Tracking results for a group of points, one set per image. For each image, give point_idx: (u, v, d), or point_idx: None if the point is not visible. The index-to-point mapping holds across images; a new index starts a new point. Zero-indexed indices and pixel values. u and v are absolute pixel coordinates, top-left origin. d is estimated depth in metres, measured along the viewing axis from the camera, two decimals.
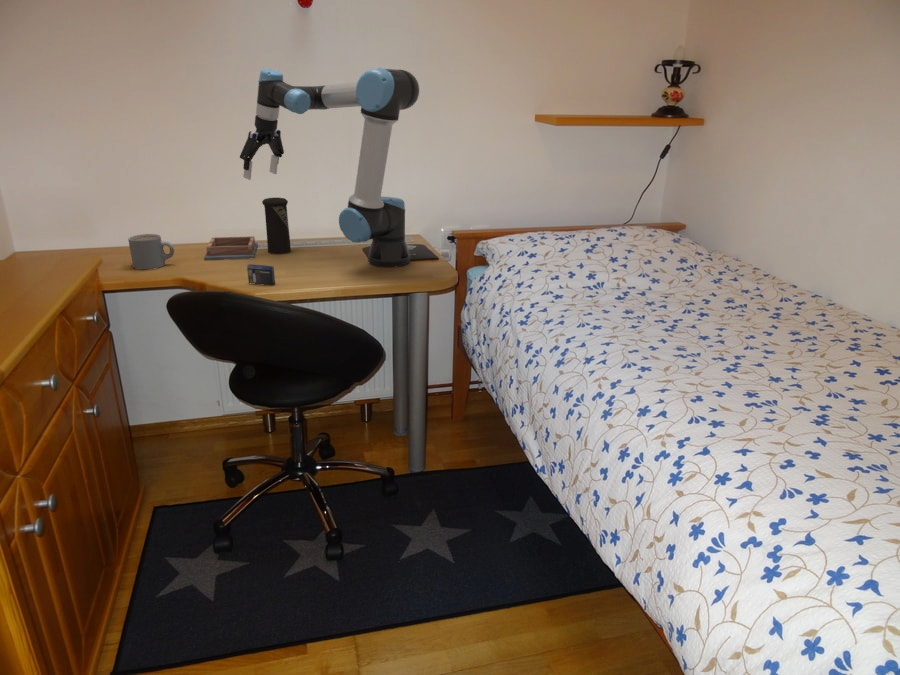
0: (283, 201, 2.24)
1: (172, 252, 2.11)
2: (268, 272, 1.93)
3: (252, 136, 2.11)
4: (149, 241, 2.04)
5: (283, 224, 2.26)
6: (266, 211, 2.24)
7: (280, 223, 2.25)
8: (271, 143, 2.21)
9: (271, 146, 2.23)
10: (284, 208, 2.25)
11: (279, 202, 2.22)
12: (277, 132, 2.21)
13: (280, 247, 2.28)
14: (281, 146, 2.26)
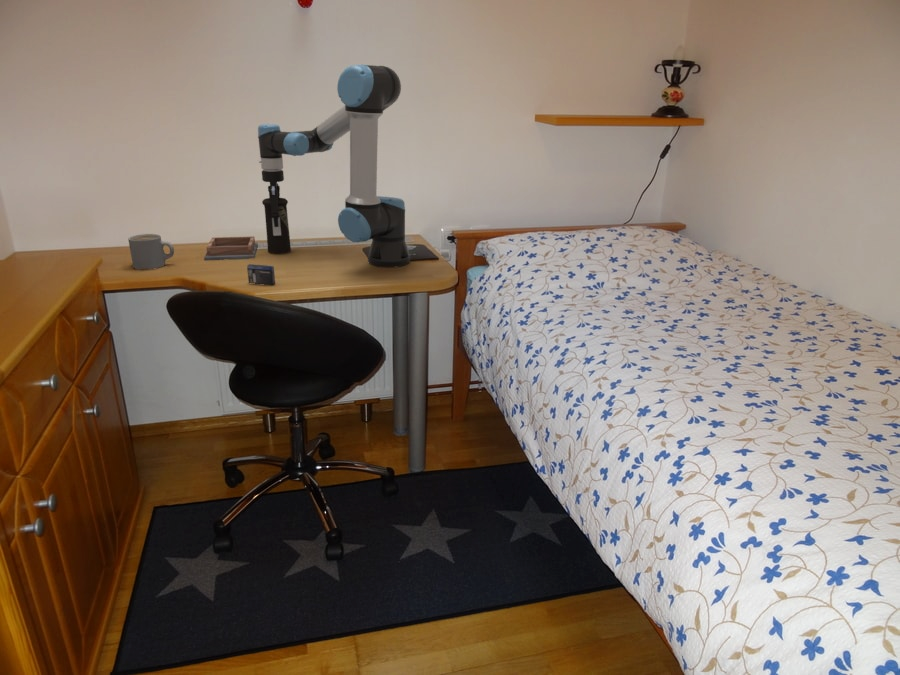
0: (283, 201, 2.24)
1: (172, 252, 2.11)
2: (268, 272, 1.93)
3: (275, 192, 2.18)
4: (149, 241, 2.04)
5: (283, 224, 2.26)
6: (266, 211, 2.24)
7: (280, 223, 2.25)
8: None
9: None
10: (284, 208, 2.25)
11: (279, 202, 2.22)
12: (276, 185, 2.29)
13: (280, 247, 2.28)
14: None
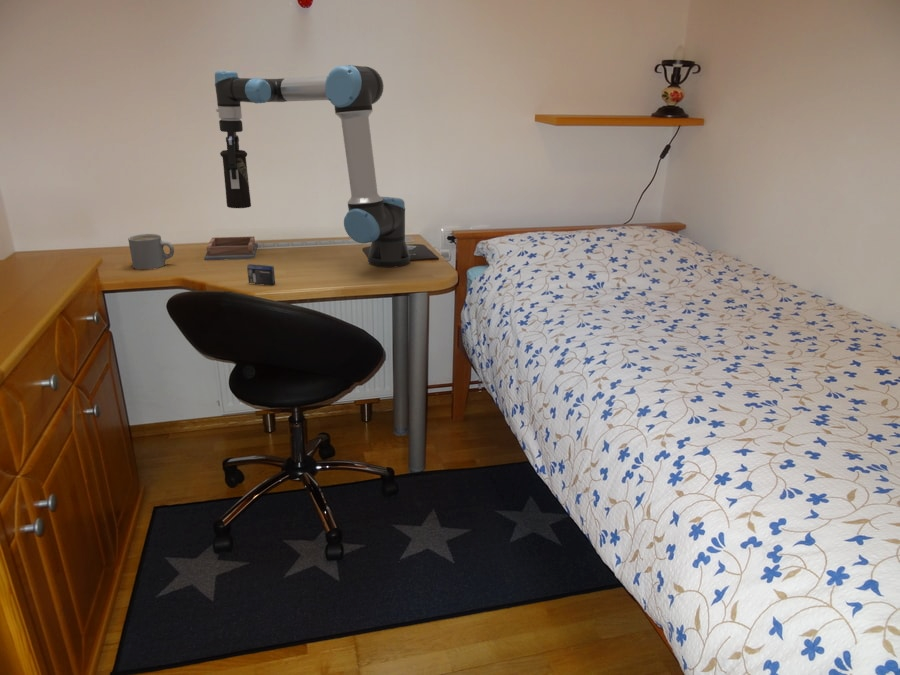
0: (242, 152, 2.16)
1: (172, 252, 2.11)
2: (268, 272, 1.93)
3: (232, 142, 2.10)
4: (149, 241, 2.04)
5: (242, 177, 2.18)
6: (224, 163, 2.16)
7: None
8: None
9: None
10: (243, 160, 2.17)
11: (237, 153, 2.14)
12: (236, 137, 2.21)
13: (239, 201, 2.20)
14: None
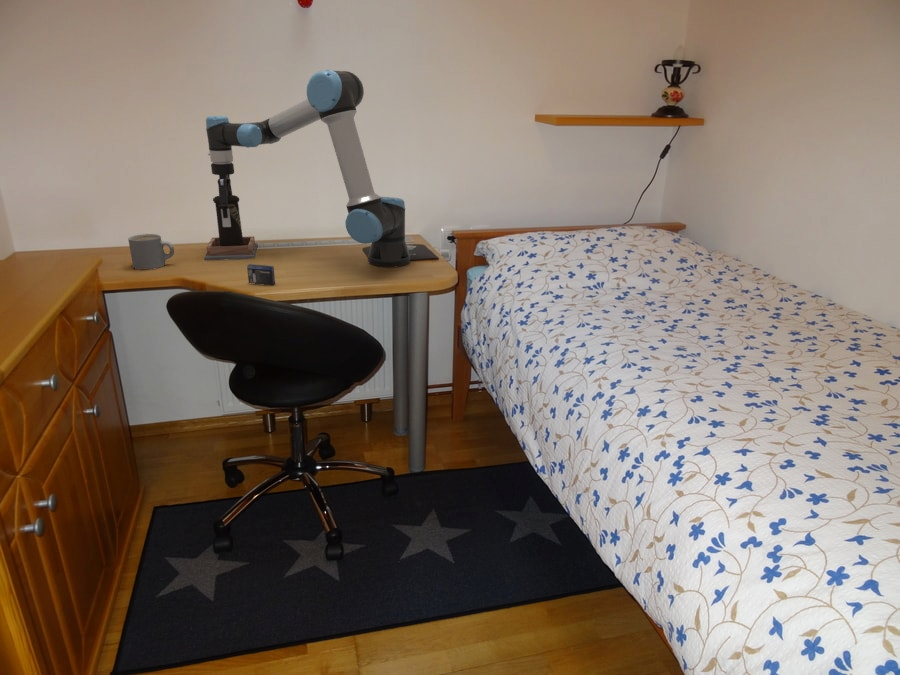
0: (234, 198, 2.21)
1: (172, 252, 2.11)
2: (268, 272, 1.93)
3: (223, 183, 2.14)
4: (149, 241, 2.04)
5: (234, 222, 2.23)
6: (217, 209, 2.21)
7: (231, 221, 2.22)
8: (228, 188, 2.24)
9: None
10: (235, 205, 2.22)
11: (230, 199, 2.19)
12: (227, 176, 2.25)
13: (232, 245, 2.25)
14: (231, 190, 2.29)
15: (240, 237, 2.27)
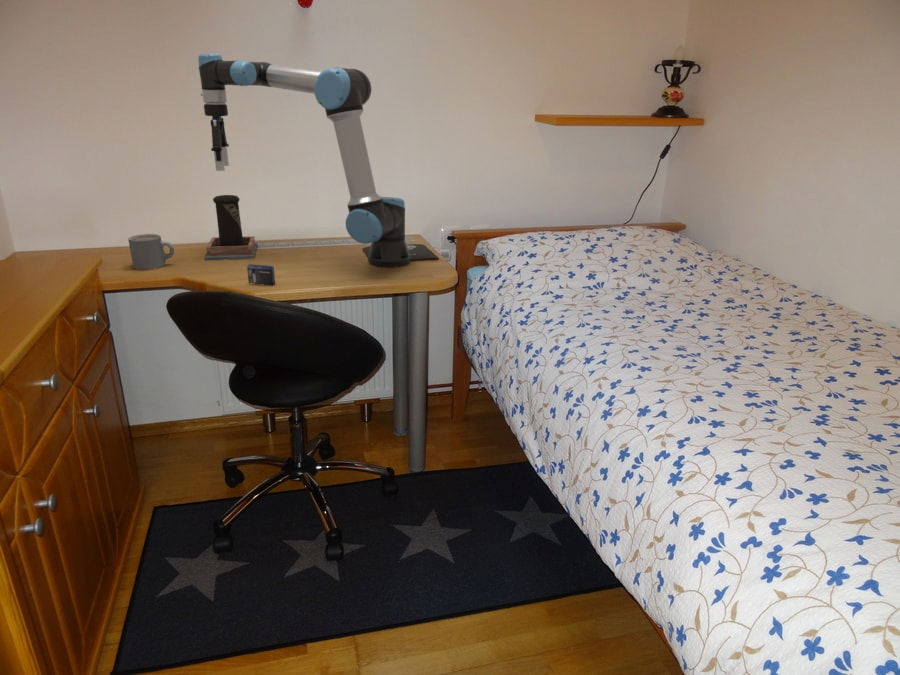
0: (234, 198, 2.21)
1: (172, 252, 2.11)
2: (268, 272, 1.93)
3: (216, 123, 2.06)
4: (149, 241, 2.04)
5: (234, 222, 2.23)
6: (217, 209, 2.21)
7: (231, 221, 2.22)
8: None
9: (220, 136, 2.18)
10: (235, 205, 2.22)
11: (230, 199, 2.19)
12: (221, 120, 2.18)
13: (232, 245, 2.25)
14: (225, 135, 2.22)
15: (240, 237, 2.27)
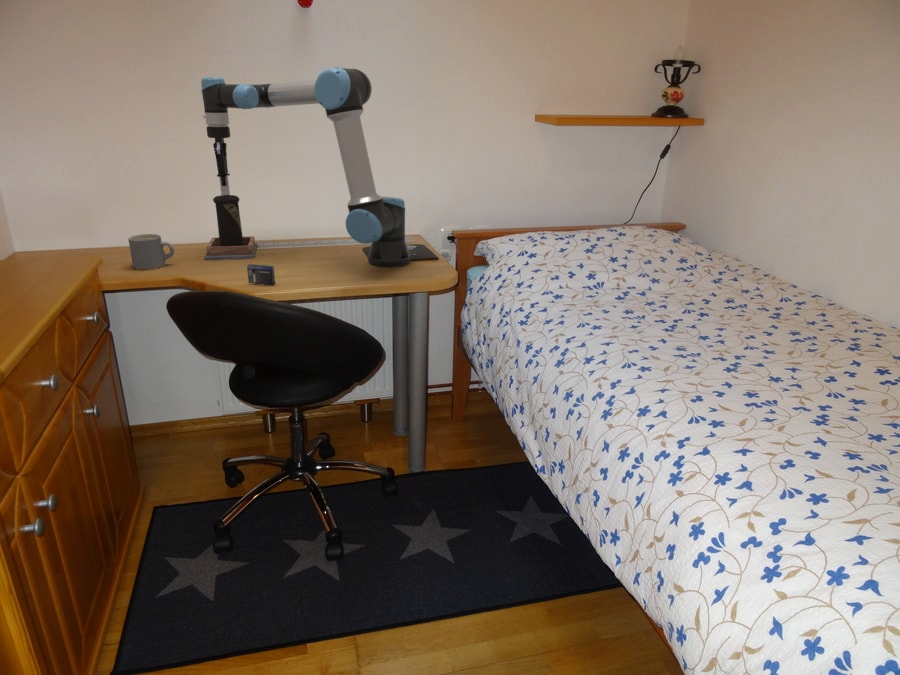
0: (234, 198, 2.21)
1: (172, 252, 2.11)
2: (268, 272, 1.93)
3: (220, 152, 2.11)
4: (149, 241, 2.04)
5: (234, 222, 2.23)
6: (217, 209, 2.21)
7: (231, 221, 2.22)
8: None
9: None
10: (235, 205, 2.22)
11: (230, 199, 2.19)
12: None
13: (232, 245, 2.25)
14: (226, 163, 2.22)
15: (240, 237, 2.27)
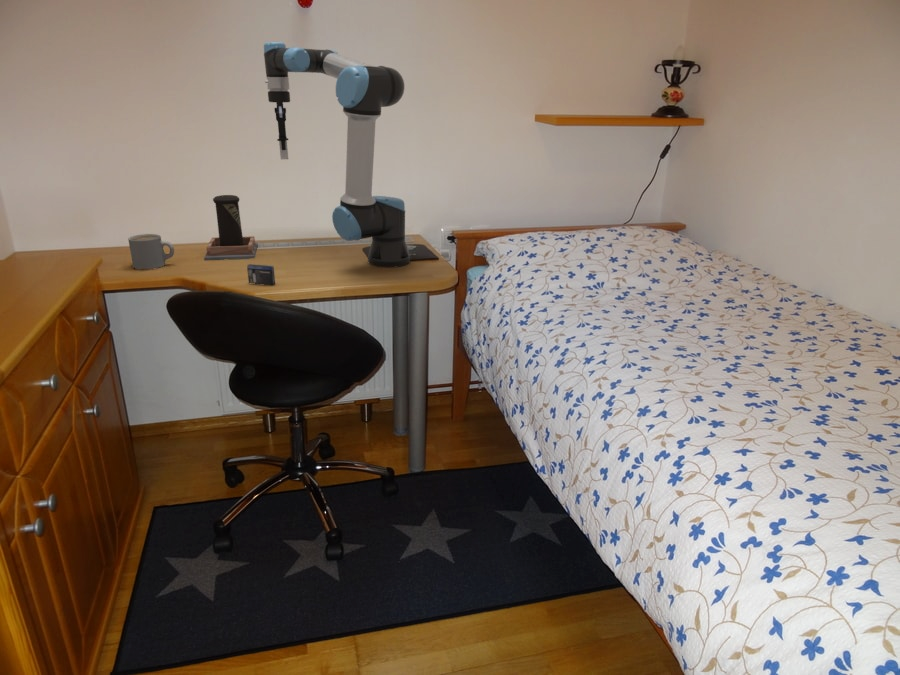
0: (234, 198, 2.21)
1: (172, 252, 2.11)
2: (268, 272, 1.93)
3: (282, 116, 2.17)
4: (149, 241, 2.04)
5: (234, 222, 2.23)
6: (217, 209, 2.21)
7: (231, 221, 2.22)
8: None
9: None
10: (235, 205, 2.22)
11: (230, 199, 2.19)
12: None
13: (232, 245, 2.25)
14: None
15: (240, 237, 2.27)
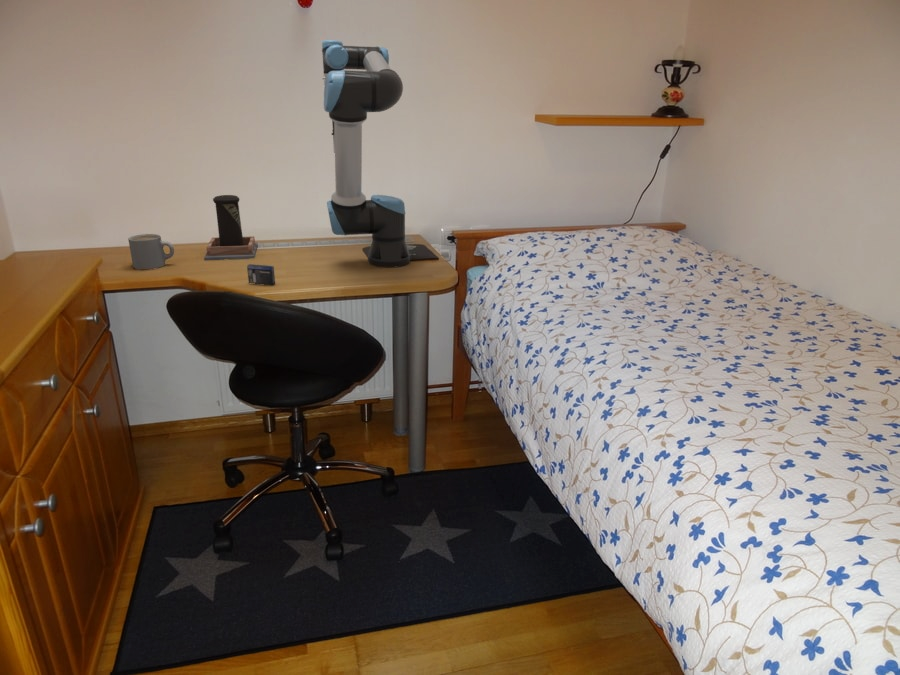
0: (234, 198, 2.21)
1: (172, 252, 2.11)
2: (268, 272, 1.93)
3: None
4: (149, 241, 2.04)
5: (234, 222, 2.23)
6: (217, 209, 2.21)
7: (231, 221, 2.22)
8: None
9: None
10: (235, 205, 2.22)
11: (230, 199, 2.19)
12: None
13: (232, 245, 2.25)
14: None
15: (240, 237, 2.27)
